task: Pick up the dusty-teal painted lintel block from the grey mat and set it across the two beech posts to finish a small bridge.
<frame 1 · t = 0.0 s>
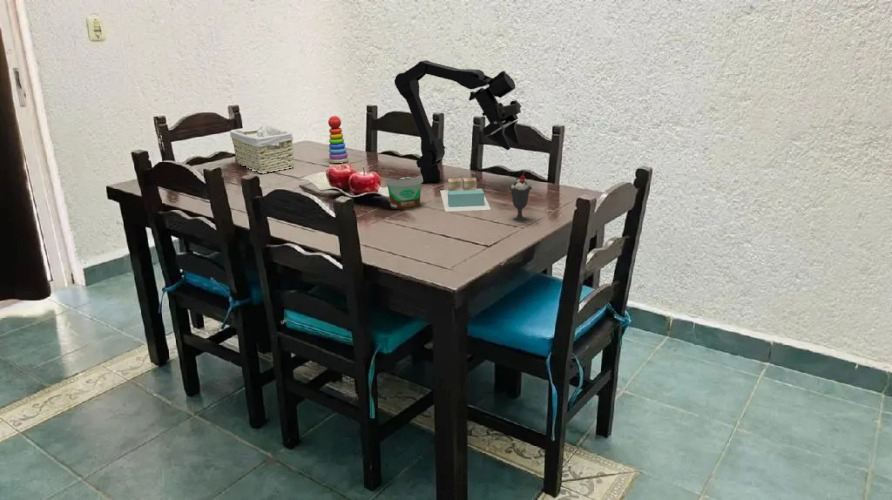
hand: (513, 146, 215), 15 cm above the table, tool tilted 35°, fingers open, 9 cm apart
food container: (408, 208, 204), on the table
lintel: (466, 204, 205), resting on build mat
storage basket: (265, 168, 260), on the table
sundae: (519, 221, 190), on the table
post b: (470, 194, 216), resting on build mat
stacking toy: (339, 162, 266), on the table
post a: (454, 194, 215), resting on build mat
build mat: (464, 200, 210), on the table
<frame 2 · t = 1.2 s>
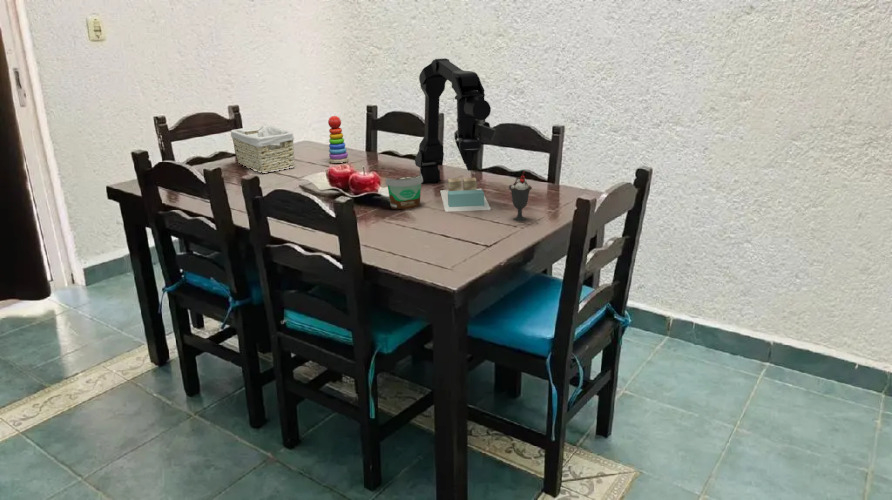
hand: (467, 167, 201), 12 cm above the table, tool pointing down, fingers open, 9 cm apart
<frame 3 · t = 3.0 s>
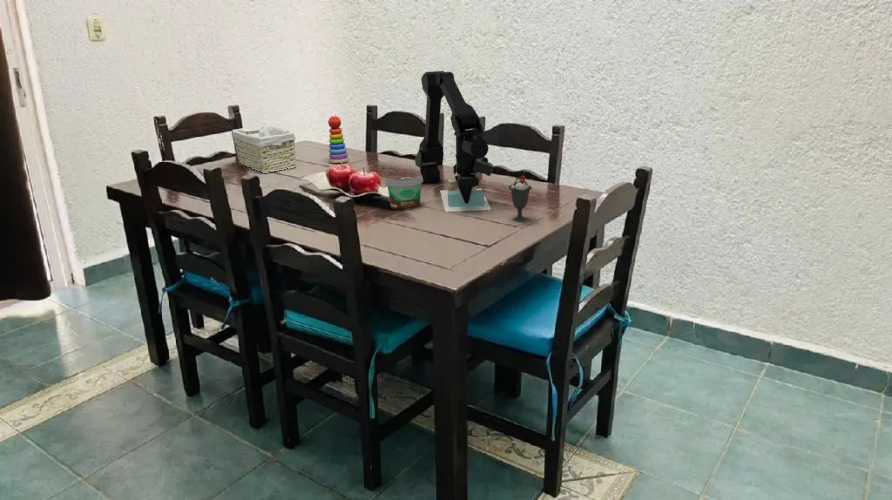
hand: (466, 201, 205), 1 cm above the table, tool pointing down, fingers closed on lintel, 4 cm apart
lintel: (466, 204, 205), resting on build mat, touching gripper
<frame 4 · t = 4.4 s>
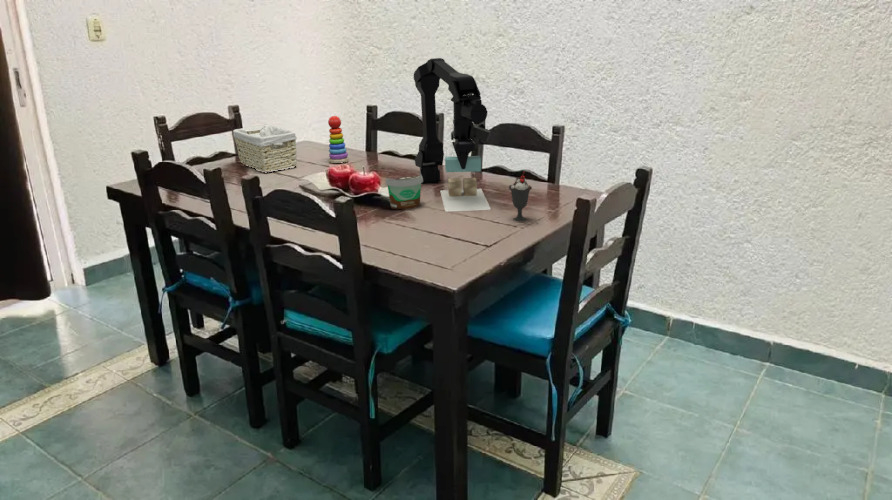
hand: (462, 167, 207), 11 cm above the table, tool pointing down, fingers closed on lintel, 4 cm apart
lintel: (462, 170, 208), point 10 cm above the table, touching gripper
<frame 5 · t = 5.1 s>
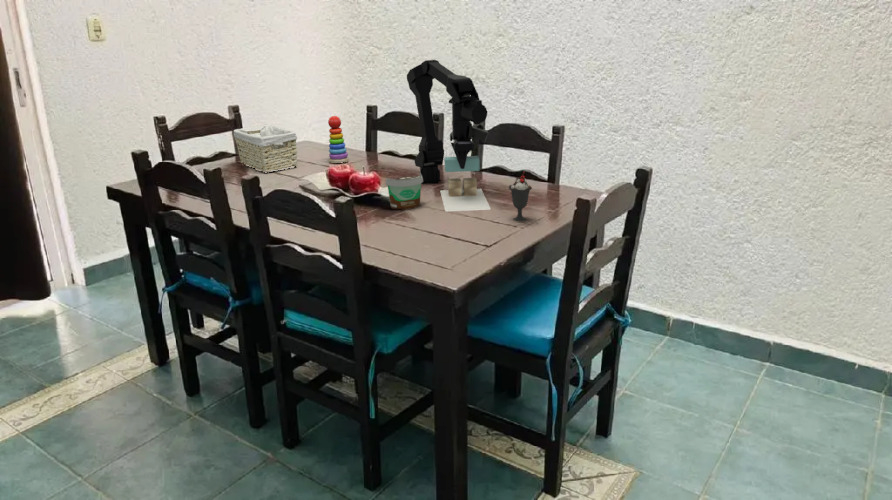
hand: (461, 167, 212), 10 cm above the table, tool pointing down, fingers closed on lintel, 4 cm apart
lintel: (462, 169, 213), point 9 cm above the table, touching gripper
when the fingers open (7 cm above the table, at t = 5.7 s): lintel moves 1 cm, resting on post a, post b.
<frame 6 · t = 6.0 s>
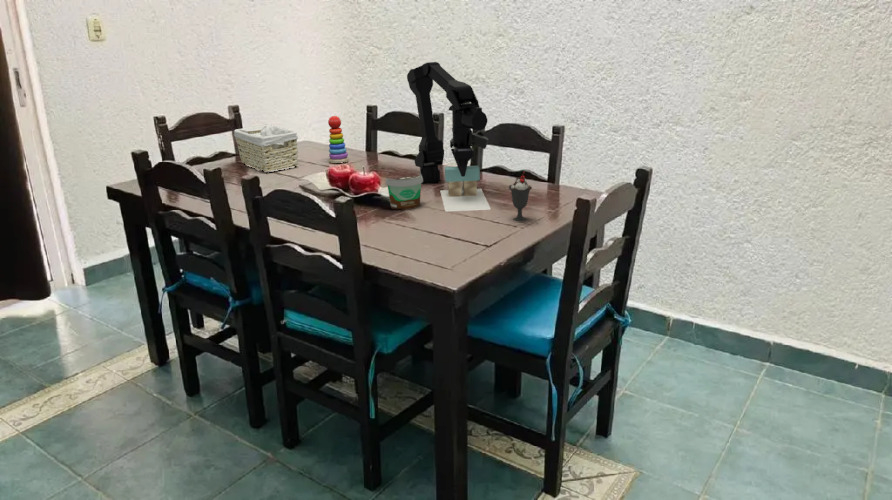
hand: (462, 173, 213), 7 cm above the table, tool pointing down, fingers open, 7 cm apart
lintel: (462, 179, 214), point 5 cm above the table, touching post a, post b
post b: (470, 194, 216), resting on build mat, touching lintel
post a: (454, 194, 215), resting on build mat, touching lintel
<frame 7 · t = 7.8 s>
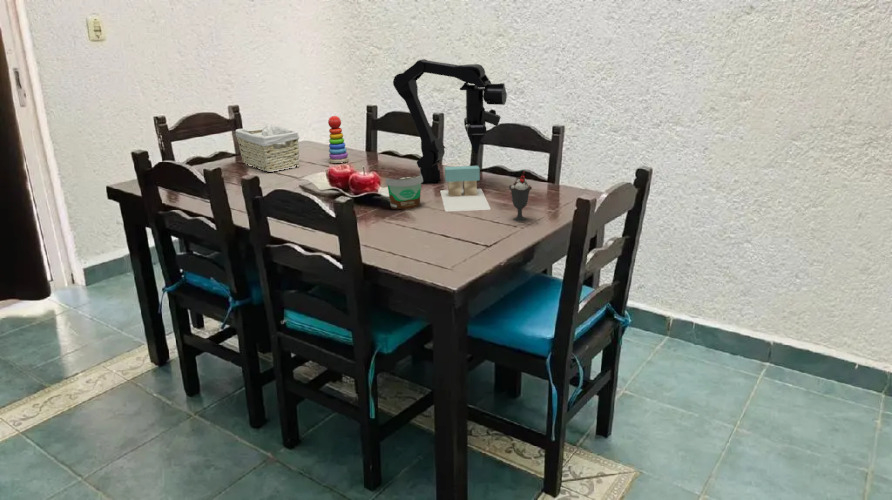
hand: (475, 150, 222), 12 cm above the table, tool pointing down, fingers open, 9 cm apart
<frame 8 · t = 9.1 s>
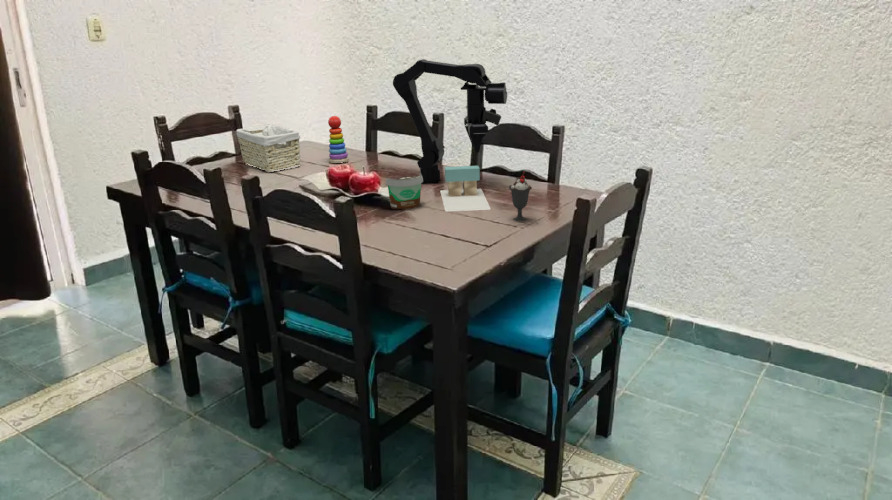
hand: (475, 149, 223), 12 cm above the table, tool pointing down, fingers open, 9 cm apart
at the end: lintel 0.0 cm from the target spot, point 5.4 cm above the table; lintel tilted 0°; the gripper is holding nothing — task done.
